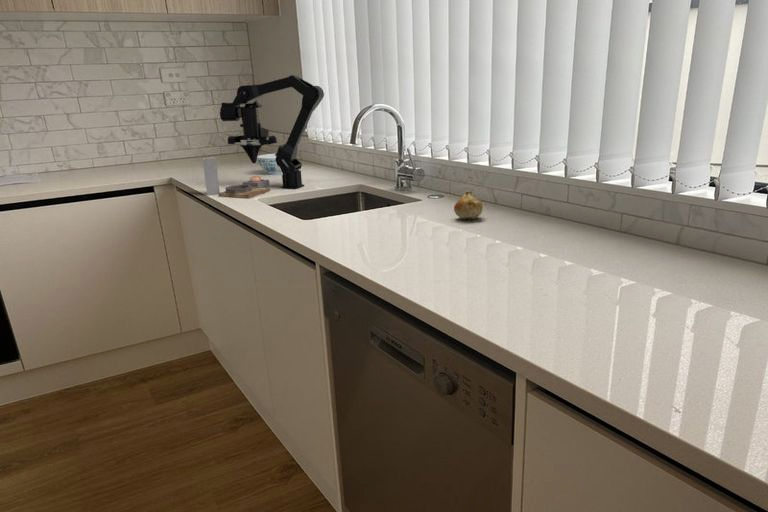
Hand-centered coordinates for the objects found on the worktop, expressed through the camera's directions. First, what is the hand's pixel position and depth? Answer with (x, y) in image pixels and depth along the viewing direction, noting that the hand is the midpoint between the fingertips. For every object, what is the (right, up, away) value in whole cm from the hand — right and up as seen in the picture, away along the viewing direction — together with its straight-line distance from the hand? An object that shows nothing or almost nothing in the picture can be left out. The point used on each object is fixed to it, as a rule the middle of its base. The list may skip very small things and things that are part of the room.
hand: (254, 163), depth 217 cm
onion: (+73, -25, -56) cm, 95 cm away
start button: (0, -7, +2) cm, 8 cm away
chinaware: (+2, +1, +35) cm, 35 cm away
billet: (-13, -12, -7) cm, 19 cm away
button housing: (0, -9, +3) cm, 9 cm away
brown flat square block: (-1, -13, -9) cm, 16 cm away
